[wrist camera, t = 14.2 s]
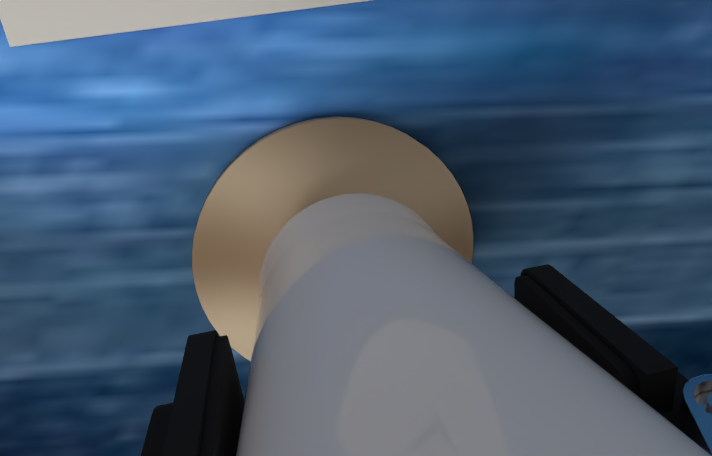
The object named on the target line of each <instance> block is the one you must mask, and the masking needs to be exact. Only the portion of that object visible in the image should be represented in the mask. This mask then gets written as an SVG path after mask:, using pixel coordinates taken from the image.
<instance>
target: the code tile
mask: <svg viewBox="0 0 712 456" xmlns="http://www.w3.org/2000/svg"><path fill="white" fill-rule="evenodd" d="M364 1H372V0H0V19H1V22H2V25H3V28H4V31H5V34H6V37H7V40H8V42H9V45H10V47H15V46H23V45H31V44H38V43H46V42H54V41H62V40H69V39H77V38H85V37H93V36H100V35H108V34H116V33H124V32H131V31H139V30H147V29H155V28H163V27H170V26H178V25H186V24H194V23H201V22H209V21H217V20H225V19H232V18H240V17H248V16H256V15H263V14H271V13H279V12H287V11H294V10H302V9H310V8H318V7H325V6H333V5H341V4H349V3H356V2H364Z"/></svg>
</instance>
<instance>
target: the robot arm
mask: <svg viewBox="0 0 712 456" xmlns="http://www.w3.org/2000/svg"><path fill="white" fill-rule="evenodd" d="M514 285H515V299H517V300H518V301H519V302H520V303H522V304H523V305H524V306H525V307H527V308H528V309H529V310H530V311H532V312H533V313H534V314H535V315H537V316H538V317H539V318H540V319H542V320H543V321H544V322H545V323H547V324H548V325H549V326H550V327H552V328H553V329H554V330H555V331H557V332H558V333H559V334H560V335H562V336H563V337H564V338H565V339H567V340H568V341H569V342H571V343H572V344H573V345H574V346H576V347H577V348H578V349H579V350H581V351H582V352H583V353H584V354H586V355H587V356H588V357H589V358H591V359H592V360H593V361H595V362H596V363H597V364H598V365H600V366H601V367H602V368H603V369H605V370H606V371H607V372H608V373H610V374H611V375H612V376H613V377H615V378H616V379H617V380H618V381H620V382H621V383H622V384H623V385H625V386H626V387H627V388H629V389H630V390H631V391H632V392H634V393H635V394H636V395H637V396H639V397H640V398H641V399H642V400H644V401H645V402H646V403H647V404H649V405H650V406H651V407H652V408H654V409H655V410H656V411H657V412H659V413H660V414H661V415H663V416H664V417H665V418H666V419H667V420H669V421H670V422H671V423H672V424H674V425H675V426H676V427H677V428H679V429H680V430H681V431H682V432H684V433H685V434H686V435H687V436H688V437H690V438H691V439H692V440H693V441H695V442H696V443H697V444H698V445H700V446H701V447H702V448H703V449H705V450H706V451H707V452H708V453H709V454H711V455H712V375H701V376H698V377H695V378H692V379H691V380H688V379H686V378H685V377H684V376H683V375H681V374H680V373H679V372H678V371H677V370H678V367H677V366H676V365H674V364H673V363H672V362H671V361H669V360H668V359H667V358H666V357H664V356H663V355H662V354H661V353H659V352H658V351H657V350H656V349H654V348H653V347H652V346H651V345H649V344H648V343H647V342H646V341H644V340H643V339H642V338H641V337H639V336H638V335H637V334H636V333H634V332H633V331H632V330H631V329H629V328H628V327H627V326H626V325H624V324H623V323H622V322H621V321H619V320H618V319H617V318H616V317H614V316H613V315H612V314H611V313H609V312H608V311H607V310H606V309H604V308H603V307H602V306H601V305H599V304H598V303H597V302H596V301H594V300H593V299H592V298H591V297H589V296H588V295H587V294H586V293H584V292H583V291H582V290H581V289H579V288H578V287H577V286H576V285H574V284H573V283H572V282H571V281H569V280H568V279H567V278H566V277H564V276H563V275H562V274H561V273H559V272H558V271H557V270H556V269H554V268H553V267H552V266H550V265H542V266H537V267H532V268H527V269H524V270H523V271H522V273H521V276H519V277H516V279H515V284H514ZM243 407H244V398H243V394H242V390H241V386H240V382H239V378H238V374H237V370H236V366H235V362H234V358H233V354H232V350H231V346H230V342H229V339H228V336H227V335H224V336H218V333H217V331H216V330H215V331H209V332H204V333H199V334H194V335H190V336H188V339H187V344H186V348H185V353H184V357H183V362H182V366H181V371H180V375H179V380H178V384H177V389H176V393H175V398H174V402H173V403H169V404H165V405H160V406H157V407H156V408H154V411H153V413H152V416H151V420H150V424H149V428H148V431H147V435H146V439H145V442H144V446H143V450H142V453H141V456H235V455H236V449H237V443H238V437H239V431H240V425H241V419H242V413H243Z"/></svg>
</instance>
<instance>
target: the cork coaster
mask: <svg viewBox="0 0 712 456" xmlns="http://www.w3.org/2000/svg"><path fill="white" fill-rule="evenodd" d="M350 193H367V194H375V195H380V196H384V197H387V198H390V199H393V200H396V201H398V202H400V203H402V204H404V205H406V206H407V207H409V208H411V209H412V210H413V211H415V212H416V213H417V214H419V215H420V216H421V217H422V218H423V219H424V220H425V221H426V222H427V223H428V224H429V225H430V226H431V227H432V228H433V230H434V231H435V232H436V233H437V234H438V235H439V236H440V237H441V238H442V239H443V240H444V241H445V242H446V243H448V244H449V245H450V246H451V247H452V248H454V249H455V250H456V251H457V252H458V253H460V254H461V255H462V256H463V257H465V258H466V259H467V260H468V261H469V262H471V263H472V257H473V228H472V220H471V216H470V212H469V208H468V205H467V202H466V200H465V197H464V195H463V193H462V190H461V188H460V186H459V185H458V183H457V181H456V180H455V178H454V176H453V175H452V173H451V172H450V171H449V170H448V168H447V167H446V166H445V165H444V163H443V162H442V161H441V160H440V159H439V158H438V157H437V156H436V155H435V154H433V153H432V152H431V151H430V150H429V149H428V148H426V147H425V146H424V145H422V144H421V143H419V142H418V141H416V140H415V139H413V138H412V137H410V136H409V135H407V134H405V133H403V132H401V131H399V130H397V129H395V128H393V127H391V126H388V125H385V124H382V123H379V122H376V121H372V120H367V119H361V118H356V117H337V116H335V117H324V118H314V119H310V120H305V121H301V122H297V123H294V124H291V125H288V126H286V127H283V128H280V129H278V130H276V131H274V132H272V133H270V134H268V135H266V136H264V137H262V138H261V139H259V140H258V141H256V142H255V143H253V144H252V145H251V146H249V147H248V148H246V149H245V150H244V151H243V152H242V153H241V154H239V155H238V156H237V157H236V158H235V159H234V160H233V161H232V162H231V163H230V164H229V165H228V166H227V168H226V169H225V170H224V171H223V173H222V174H221V175H220V176H219V178H218V179H217V181H216V182H215V184H214V185H213V187H212V189H211V190H210V192H209V194H208V196H207V198H206V201H205V203H204V205H203V208H202V210H201V213H200V216H199V219H198V223H197V227H196V231H195V234H194V241H193V250H192V266H193V276H194V282H195V287H196V291H197V294H198V297H199V300H200V303H201V305H202V307H203V309H204V311H205V313H206V315H207V317H208V319H209V321H210V322H211V324H212V325H213V326H214V328H215V329H216V331H217V332H218V333H219V335H220V336H224V335H227V336H228V339H229V342H230V346H231V347H232V348H233V349H234V350H236V351H237V352H238V353H239V354H241V355H242V356H243V357H244V358H246V359H248V360H249V361H251V357H252V351H253V344H254V338H255V331H256V324H257V317H258V291H259V277H260V270H261V266H262V263H263V260H264V257H265V254H266V252H267V250H268V248H269V246H270V244H271V242H272V241H273V239H274V237H275V236H276V235H277V233H278V232H279V231H280V229H281V228H282V227H283V226H284V225H285V224H286V223H287V222H288V221H289V220H290V219H291V218H292V217H294V216H295V215H296V214H297V213H299V212H300V211H302V210H303V209H305V208H306V207H308V206H310V205H312V204H314V203H316V202H318V201H320V200H323V199H326V198H329V197H333V196H337V195H342V194H350Z"/></svg>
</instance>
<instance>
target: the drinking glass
mask: <svg viewBox="0 0 712 456" xmlns="http://www.w3.org/2000/svg"><path fill="white" fill-rule="evenodd" d="M235 456H712V455H711V454H709V453H708V452H707V451H706V450H705V449H703V448H702V447H701V446H700V445H698V444H697V443H696V442H695V441H693V440H692V439H691V438H690V437H688V436H687V435H686V434H685V433H684V432H682V431H681V430H680V429H679V428H677V427H676V426H675V425H674V424H672V423H671V422H670V421H669V420H667V419H666V418H665V417H664V416H663V415H661V414H660V413H659V412H657V411H656V410H655V409H654V408H652V407H651V406H650V405H649V404H647V403H646V402H645V401H644V400H642V399H641V398H640V397H639V396H637V395H636V394H635V393H634V392H632V391H631V390H630V389H629V388H627V387H626V386H625V385H623V384H622V383H621V382H620V381H618V380H617V379H616V378H615V377H613V376H612V375H611V374H610V373H608V372H607V371H606V370H605V369H603V368H602V367H601V366H600V365H598V364H597V363H596V362H595V361H593V360H592V359H591V358H589V357H588V356H587V355H586V354H584V353H583V352H582V351H581V350H579V349H578V348H577V347H576V346H574V345H573V344H572V343H571V342H569V341H568V340H567V339H565V338H564V337H563V336H562V335H560V334H559V333H558V332H557V331H555V330H554V329H553V328H552V327H550V326H549V325H548V324H547V323H545V322H544V321H543V320H542V319H540V318H539V317H538V316H537V315H535V314H534V313H533V312H532V311H530V310H529V309H528V308H527V307H525V306H524V305H523V304H522V303H520V302H519V301H518V300H517V299H515V298H514V297H513V296H512V295H510V294H509V293H508V292H507V291H505V290H504V289H503V288H502V287H500V286H499V285H498V284H497V283H495V282H494V281H493V280H492V279H490V278H489V277H488V276H487V275H485V274H484V273H483V272H482V271H481V270H479V269H478V268H477V267H476V266H474V265H473V264H472V263H471V262H469V261H468V260H467V259H466V258H465V257H463V256H462V255H461V254H460V253H458V252H457V251H456V250H455V249H454V248H452V247H451V246H450V245H449V244H448V243H446V242H445V241H444V240H443V239H442V238H441V237H440V236H439V235H438V234H437V233H436V232H435V231H434V230H433V228H432V227H431V226H430V225H429V224H428V223H427V222H426V221H425V220H424V219H423V218H422V217H421V216H420V215H419V214H417V213H416V212H415V211H413V210H412V209H411V208H409V207H407V206H406V205H404V204H402V203H400V202H398V201H396V200H393V199H390V198H387V197H384V196H380V195H375V194H367V193H350V194H342V195H337V196H333V197H329V198H326V199H323V200H320V201H318V202H316V203H314V204H312V205H310V206H308V207H306V208H305V209H303V210H302V211H300V212H299V213H297V214H296V215H295V216H294V217H292V218H291V219H290V220H289V221H288V222H287V223H286V224H285V225H284V226H283V227H282V228H281V229H280V231H279V232H278V233H277V235H276V236H275V237H274V239H273V241H272V242H271V244H270V246H269V248H268V250H267V252H266V254H265V257H264V260H263V263H262V266H261V270H260V277H259V291H258V317H257V324H256V331H255V338H254V344H253V351H252V357H251V363H250V370H249V376H248V382H247V388H246V395H245V401H244V407H243V413H242V419H241V425H240V431H239V437H238V443H237V449H236V455H235Z"/></svg>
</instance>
